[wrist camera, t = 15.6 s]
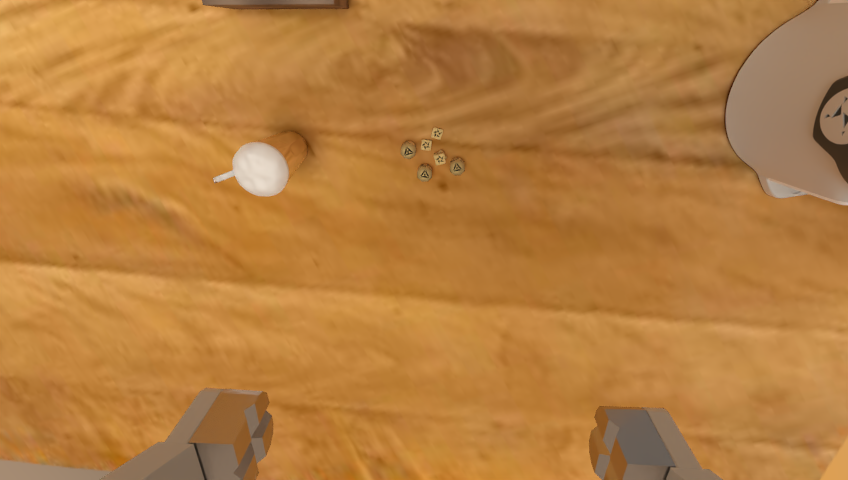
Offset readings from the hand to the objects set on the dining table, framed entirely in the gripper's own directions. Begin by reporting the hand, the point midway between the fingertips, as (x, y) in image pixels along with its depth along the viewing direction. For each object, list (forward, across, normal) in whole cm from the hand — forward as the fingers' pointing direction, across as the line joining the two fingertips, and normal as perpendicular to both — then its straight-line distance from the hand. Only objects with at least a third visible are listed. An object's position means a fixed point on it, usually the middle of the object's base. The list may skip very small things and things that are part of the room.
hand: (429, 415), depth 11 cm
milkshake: (+34, +15, +2) cm, 37 cm away
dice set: (+35, +1, +2) cm, 35 cm away
